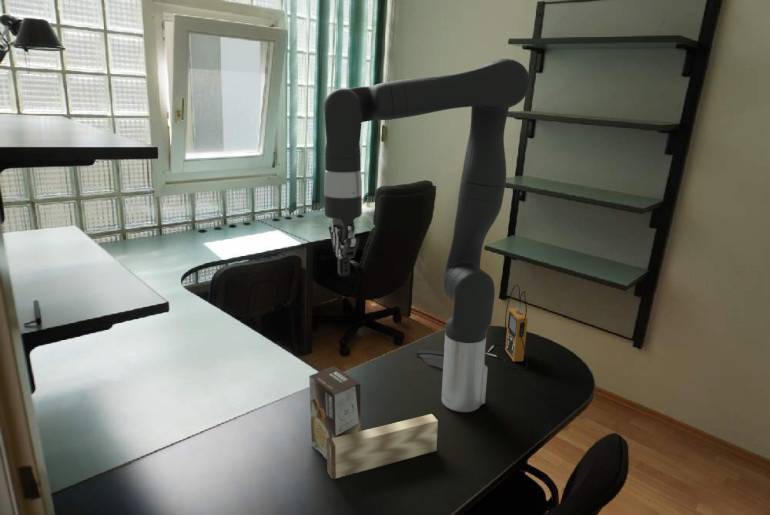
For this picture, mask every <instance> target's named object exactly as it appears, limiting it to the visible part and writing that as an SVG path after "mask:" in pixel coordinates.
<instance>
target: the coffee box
mask: <svg viewBox="0 0 770 515" xmlns="http://www.w3.org/2000/svg"><path fill="white" fill-rule="evenodd" d="M308 384H309V405H310V407H309V408H310V430H311V446H312V445H313V446H314V447H313V446H312V447H313V449H315V448H316V449H317V450H318V451H319V452H320V453H321V454H322V455H323V456H322V455H321V454H320V453H319V452H318V451H317V450H316V449H315V450H316V451H317V452H318V453H319V454H320V455H321V456H322V457H323V458H324V459H325V460H327V438H330V437H331V438H335V437H339V436H343V435H347V434H351V433H355V432H360V431H362V430H361V426H362V425H361V421H362V420H361V416H362V414H361V411H362V410H361V406H362V404H361V383H360V382H359V381H357V380H356V379H354V378H353V377H352V376H350V375H348V374H347V373H346V372H344V371H342V370H341V369H339V368H337V366H330V367H327V368H324V369H322V370H319V371H317V373H313V374H311V375H309V383H308Z"/></svg>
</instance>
